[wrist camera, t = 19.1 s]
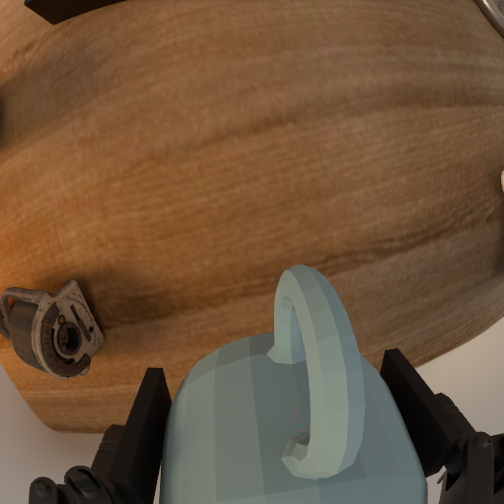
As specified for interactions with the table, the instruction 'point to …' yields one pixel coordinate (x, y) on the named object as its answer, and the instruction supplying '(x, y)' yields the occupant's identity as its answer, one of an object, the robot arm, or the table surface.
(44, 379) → the table surface
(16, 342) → the grey machine part
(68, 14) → the control block
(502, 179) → the toy
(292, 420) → the mug
